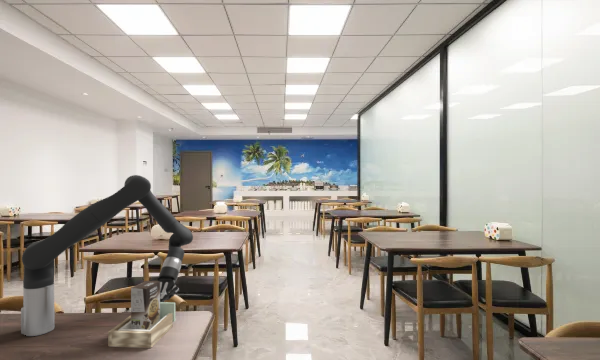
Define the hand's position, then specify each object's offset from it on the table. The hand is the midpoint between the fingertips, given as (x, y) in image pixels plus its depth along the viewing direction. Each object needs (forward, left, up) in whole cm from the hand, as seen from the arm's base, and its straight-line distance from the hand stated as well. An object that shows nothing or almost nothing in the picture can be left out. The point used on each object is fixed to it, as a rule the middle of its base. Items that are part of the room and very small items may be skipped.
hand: (157, 309), depth 137 cm
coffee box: (0, -9, -4) cm, 9 cm away
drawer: (0, -9, -4) cm, 10 cm away
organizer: (0, -11, -5) cm, 13 cm away
